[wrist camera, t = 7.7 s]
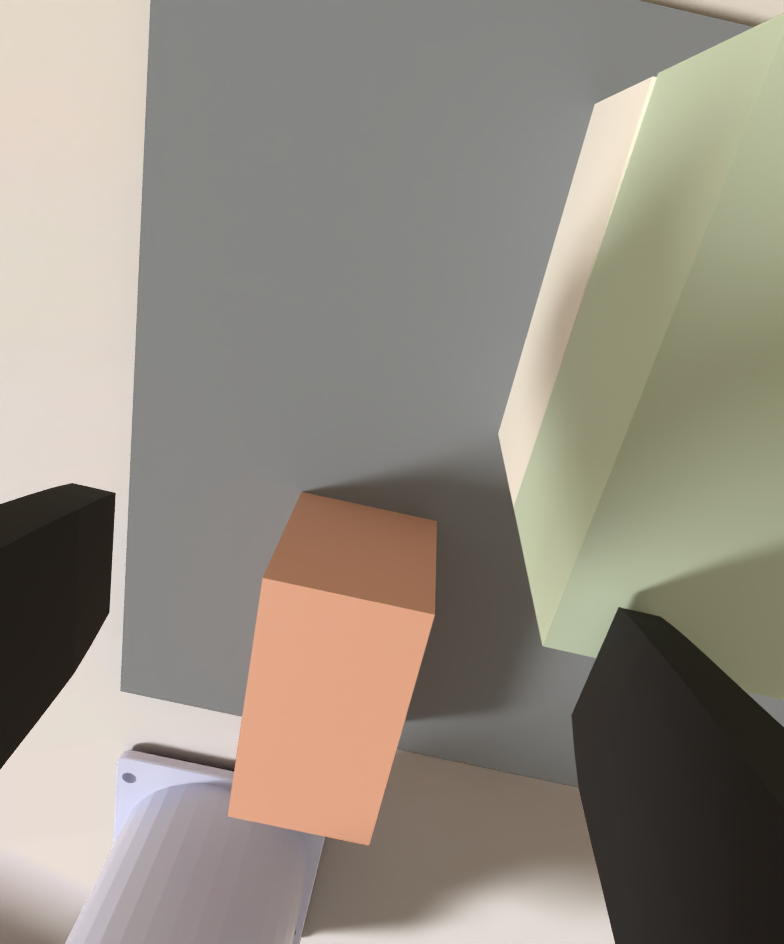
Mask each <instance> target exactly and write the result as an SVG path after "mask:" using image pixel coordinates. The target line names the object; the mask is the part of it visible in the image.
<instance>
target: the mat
mask: <svg viewBox="0 0 784 944" xmlns="http://www.w3.org/2000/svg"><path fill="white" fill-rule="evenodd" d="M751 28H753V27H752V26H748V25H744V24H739V23H735V22H731V21H727V20H722V19H718V18H714V17H709V16H705V15H701V14H696V13H692V12H688V11H684V10H679V9H675V8H671V7H666V6H662V5H658V4H653V3H649V2H645V1H641V0H151V4H150V27H149V49H148V72H147V95H146V118H145V141H144V164H143V187H142V210H141V233H140V255H139V278H138V301H137V324H136V347H135V370H134V393H133V416H132V439H131V462H130V484H129V507H128V530H127V553H126V576H125V599H124V622H123V645H122V668H121V691H123V692H128V693H132V694H137V695H142V696H147V697H151V698H156V699H161V700H166V701H170V702H175V703H180V704H185V705H189V706H194V707H199V708H204V709H208V710H213V711H218V712H223V713H227V714H232V715H237V716H242V714H243V708H244V701H245V694H246V687H247V680H248V674H249V667H250V660H251V653H252V646H253V640H254V633H255V626H256V619H257V612H258V606H259V599H260V592H261V585H262V578H263V576H264V574H265V571H266V569H267V567H268V565H269V563H270V560H271V558H272V556H273V554H274V551H275V549H276V547H277V545H278V543H279V540H280V538H281V536H282V534H283V532H284V529H285V527H286V525H287V523H288V521H289V518H290V516H291V514H292V512H293V509H294V507H295V505H296V503H297V501H298V498H299V496H300V494H301V492H305V493H310V494H314V495H319V496H323V497H328V498H333V499H337V500H342V501H346V502H351V503H356V504H360V505H365V506H369V507H374V508H379V509H383V510H388V511H392V512H397V513H402V514H406V515H411V516H416V517H420V518H425V519H429V520H434V521H437V542H436V588H435V616H434V620H433V623H432V627H431V630H430V634H429V637H428V641H427V644H426V648H425V651H424V655H423V658H422V662H421V665H420V669H419V672H418V676H417V679H416V683H415V686H414V690H413V694H412V697H411V701H410V704H409V708H408V711H407V715H406V718H405V722H404V725H403V729H402V732H401V736H400V739H399V743H398V746H397V749H399V750H403V751H408V752H413V753H418V754H422V755H427V756H432V757H437V758H441V759H446V760H451V761H456V762H460V763H465V764H470V765H475V766H479V767H484V768H489V769H494V770H498V771H503V772H508V773H513V774H517V775H522V776H527V777H532V778H536V779H541V780H546V781H551V782H555V783H560V784H565V785H570V786H574V787H579V786H578V779H577V771H576V762H575V753H574V741H573V729H572V717H571V715H572V713H573V710H574V708H575V706H576V703H577V701H578V699H579V697H580V694H581V692H582V690H583V687H584V685H585V683H586V681H587V678H588V676H589V674H590V671H591V669H592V667H593V664H594V662H595V660H596V658H593V657H589V656H584V655H580V654H575V653H571V652H566V651H562V650H557V649H553V648H548V647H544V646H542V641H541V637H540V632H539V627H538V622H537V617H536V613H535V608H534V603H533V598H532V593H531V589H530V584H529V579H528V574H527V569H526V565H525V560H524V555H523V550H522V545H521V541H520V536H519V531H518V526H517V521H516V517H515V512H514V508H513V503H512V498H511V493H510V489H509V484H508V479H507V474H506V469H505V465H504V460H503V455H502V450H501V445H500V440H499V436H498V433H499V429H500V426H501V422H502V419H503V416H504V412H505V409H506V405H507V402H508V398H509V395H510V392H511V388H512V385H513V381H514V378H515V375H516V371H517V368H518V364H519V361H520V357H521V354H522V351H523V347H524V344H525V340H526V337H527V334H528V330H529V327H530V323H531V320H532V317H533V313H534V310H535V306H536V303H537V299H538V296H539V293H540V289H541V286H542V282H543V279H544V276H545V272H546V269H547V265H548V262H549V258H550V255H551V252H552V248H553V245H554V241H555V238H556V235H557V231H558V228H559V224H560V221H561V217H562V214H563V211H564V207H565V204H566V200H567V197H568V194H569V190H570V187H571V183H572V180H573V177H574V173H575V170H576V166H577V163H578V159H579V156H580V153H581V149H582V146H583V142H584V139H585V136H586V132H587V129H588V125H589V122H590V118H591V115H592V112H593V108H594V105H595V104H596V103H598V102H600V101H602V100H604V99H606V98H608V97H611V96H613V95H615V94H617V93H619V92H621V91H623V90H625V89H627V88H629V87H631V86H634V85H636V84H638V83H640V82H642V81H644V80H646V79H648V78H650V77H652V76H653V77H657V75H658V73H659V72H661V71H664V70H666V69H668V68H670V67H672V66H674V65H676V64H678V63H680V62H682V61H684V60H686V59H689V58H691V57H693V56H695V55H697V54H699V53H701V52H703V51H705V50H707V49H709V48H711V47H713V46H716V45H718V44H720V43H722V42H724V41H726V40H728V39H730V38H732V37H734V36H736V35H738V34H741V33H743V32H745V31H747V30H749V29H751ZM746 693H747V694H748V695H749V696H750V697H752V698H753V699H754V700H755V701H756V702H757V703H758V704H759V705H760V706H761V707H762V708H763V709H765V710H766V711H767V712H768V713H769V714H770V715H771V716H772V717H773V718H774V719H775V720H777V721H778V722H779V723H780V724H781V725H782V726H783V727H784V700H780V699H776V698H771V697H767V696H762V695H758V694H753V693H749V692H746Z"/></svg>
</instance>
